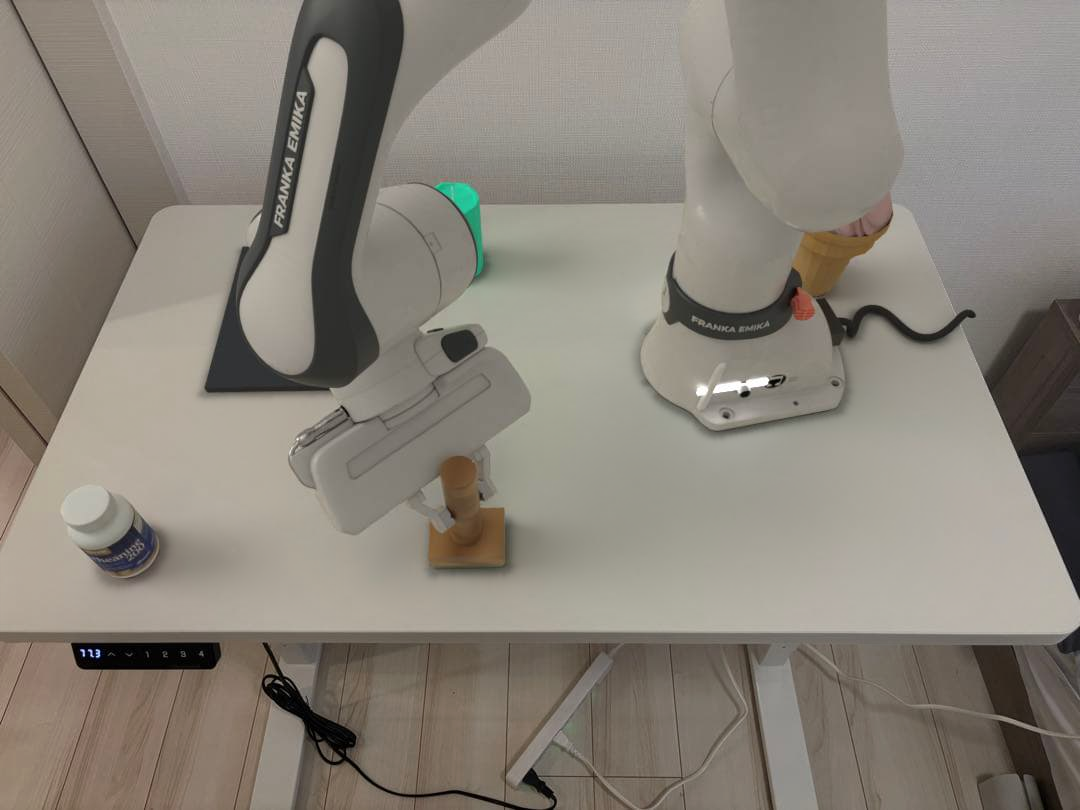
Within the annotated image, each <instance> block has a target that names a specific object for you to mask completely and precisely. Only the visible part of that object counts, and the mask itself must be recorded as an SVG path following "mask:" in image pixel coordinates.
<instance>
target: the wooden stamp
mask: <svg viewBox="0 0 1080 810" xmlns="http://www.w3.org/2000/svg"><path fill="white" fill-rule="evenodd" d="M439 477H440V482H441V488H442V494H443V498H444V504H445V507H446V508H448V510H449V511H450V513H451V517H452V518H454V520H455V522H456V524H454V525H453V526H452V527H450V528H449V529H448V530H447V531H446V532H444V533H440V532H438V531H437V530H436V529H435V528H434V526H433V524H432V523H431V521H430V520H429V528H428V529H429V530H428V546H427V547H428V548H427V559H428V563H429V566H430V567H432V568H433V569H474V568H475V569H476V568H479V569H480V568H503V567H504V565H505V564H506V513H505V512H506V511H505V507H481V501H480V498H479V488H478V479H477V470H476V466H475V464H474V460H471V459H469V458H467V457H464V456H454V457H451V458H449V459H447V460H446V461H445V462H444V463H443V464H442V466H441V468H440V476H439Z"/></svg>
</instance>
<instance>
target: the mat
mask: <svg viewBox="0 0 1080 810" xmlns="http://www.w3.org/2000/svg"><path fill="white" fill-rule="evenodd" d="M248 250H249V246H248V245H247V246H246V245H245V246H242V247H241V250H240V254H239V258H238V262H237V265H236V269H235V272H234V277H233V280H232V282H231V283H232V284H231V288H230V291H229V295H228V299H227V303H226V306H225V309H224V313H223V316H222V321H221V326H220V328H219V331H218V336H217V340H216V344H215V347H214V351H213V355H212V358H211V362H210V366H209V369H208V372H207V377H206V381H205V384H204V390H205V392H207V393H226V392H228V393H229V392H231V393H233V392H283V391H284V392H285V391H287V392H288V391H289V392H291V391H331V390H330V389H329V388H325V387H317V386H311V385H306V384H302V383H298V382H295V381H292V380H289V379H286V378H284V377H282V376H279V375H277V374H275V373H274V372H272V371H271V370H269V369H268V368H267V367H265V366H264V365H263V364H262V363H261V362H260V361H259V360H258V359H257V358H256V356H255V355H254V354H253V353H252V351H251V350H250V348H249V347H248V345H247V343H246V341H245V339H244V337H243V335H242V333H241V330H240V327H239V324H238V319H237V312H236V287H237V281H238V276H239V272H240V268H241V264H242V262H243V259H244V257H245V255H246V253H247V252H248Z"/></svg>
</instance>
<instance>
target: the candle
mask: <svg viewBox="0 0 1080 810" xmlns="http://www.w3.org/2000/svg"><path fill="white" fill-rule="evenodd" d="M433 187H434V188H436V189H438V190H439V191H441V192H442V193H444V194H445V195H447V196H448V197H449V198H450V199H451V200H452V201H453V202H454V203H455V204H456V205H457V206H458V207H459V208H460V210H461V211H462V212H463V214H464V215H465V217H466V218H467V220H468V222H469V224H470V226H471V228H472V231H473V233H474V236H475V240H476V244H477V250H478V266H477V272H476V276H475V278H477V277H478V276H479V275H480V274H481V272H482V270H483V268H484V264H485V263H484V250H483V249H484V248H483V233H482V220H481V219H482V217H481V201H480V196H479V194H478V192H477V190H475V189H474V188H473V186H471V185H470V184H469V183H466V182H465V183H463V182H440V183H439V184H438V185H435V186H433Z"/></svg>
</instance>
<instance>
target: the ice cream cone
mask: <svg viewBox="0 0 1080 810" xmlns="http://www.w3.org/2000/svg"><path fill="white" fill-rule="evenodd" d="M893 218H894V208H893V201H892V197H891V193H890V190H889V191H888V193H887V194H886V195H885V197H884V198H883V199H882V200H881V201H880V203H879V204H877V205H876V206H875V207H874V208H873V209H872V210H871V211H870V212H868V213H867V214H866V215H864V216H863V217H861V218H860V219H858V220H856V221H854V222H852V223H850V224H848V225H846V226H843V227H840V228H837V229H834V230H830V231H824V232H814V233H808V232H805V234H804V236H803V239H802V242H801V244H800V247H799V250H798V253H797V255H796V258H795V261H794V263H793V264H794V268H795V269H796V270H797V271H798V272H799V274H800V276H801V279H802V283H803V285H802V288H801V290H803V291H806V292H807V293H809V294H810V295H811V296H812V297H819V296H823V295H825V294H826V293H828V292H829V291H831V290H832V289H833V288H834V287H835V286H836V285H837V282H838V281H839V279H840V278H841V276H842V275H843V273H844V271H845V270H846V269H847V266H848V265H849V263H850V261H851V260H852V259H854V258H855V257H858V256H862V255H865V254H866V253H868V252H869V251H870V250H871V249H872V248H873V247H874V245H875V242H877V241H878V240H879V239H881V237H883V236H884V235H885V234H886V233H887V232H888V230H889V228H890V226H891V223H892V221H893Z"/></svg>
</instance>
